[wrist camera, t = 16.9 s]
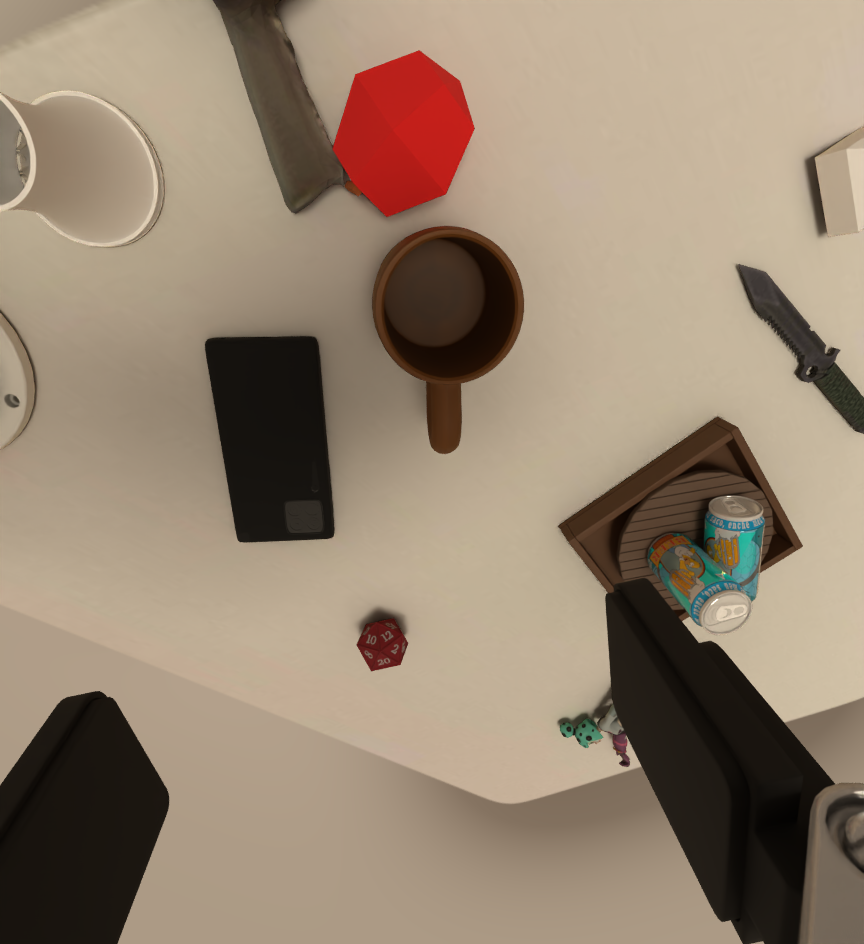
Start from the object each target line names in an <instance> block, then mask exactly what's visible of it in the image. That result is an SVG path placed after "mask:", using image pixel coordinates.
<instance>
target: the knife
mask: <svg viewBox="0 0 864 944" xmlns="http://www.w3.org/2000/svg"><path fill="white" fill-rule="evenodd" d="M738 265H739V268H740V271H741V274H742V277H743V280H744V283H745V286H746V289H747V292H748V295H749V298H750V300H751V301H752V303H753V305H754V307H755V309H756V311H757V312H758V313H759V314H760V315H761V317H762V318H763V319H764V320H765V321H767V319H768V320H769V325H770V323H771V322H772V328H773V326H774V325H775V332H776V330H777V329H778V335H779V333H780V332H781V339H782V337H783V336H784V342H785V340H787V346H788V344H790V349H791V347H792V348H793V352H794V350H795V352H796V355H797V353H798V357H799V359H800V364H801V365H800V367H799V369H798V371H797V373H796V374H797V376H798V377H799V378H800V380H801V381H804V382H808V383H809V382H812V381H814V382H815V384H816V385H817V386H818V387H819V388H820V389H821V391H822V392H823V393H824V394H825V395H826V396H827V398H828V399H829V400H830V401H831V402H832V403H833V405H834V406H835V407H836V408H837V409H838V410H839V411H840V412H841V414H842V415H843V416H844V417H845V418H846V420H847V421H849V423H850V424H851V425H852V426H853V428H854V429H855V431H857V432H860V433H863V434H864V397H863V396H862V395H861V394H860V392H859V391H858V390H857V389H856V387H855V386H854V385H853V384H852V383H851V381H850V380H849V379H848V378H847V377H846V375H845V374H844V373H843V372H842V371H841V369H840V368H839V367H838V366H837V364H836V363H835V362H834V361H835V359H836V356H837V354H838V353H839V352H840V350H839V349H836V348H832V349H831V351H830V353H829V354H828V355H826V354H825V347H826V345H825V343H824V342H823V341H822V340H821V339H820V337H819V336H818V335H817V334H816V333H815V331H811V330H810V329H809V328H810V327H811V326H810V325H809V324H808V323H807V322H806V320H805V319H804V318H803V317H802V316H801V314H800V313H799V312H798V311H797V309H796V308H795V307H794V306H793V305H792V303H791V302H790V301H789V300H788V299H787V297H786V296H785V295H784V294H783V292H782V291H781V290H780V289H779V288H778V286H777V285H776V284H775V283H774V282H773V280H772V279H771V278H770V277H769V275H768V274H767V273H766V272H764V271H761V270H757V269H754V268H750V267H747V266H743V265H740V264H738ZM800 357H801V358H800ZM813 365H814V370H812V371H811V372H812V373H813V374H812V375H810V376H809V377H807V375H806V372H807V370H808V368H809V367H811V366H813Z"/></svg>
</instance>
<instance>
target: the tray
mask: <svg viewBox="0 0 864 944" xmlns="http://www.w3.org/2000/svg"><path fill="white" fill-rule="evenodd" d="M700 470H724V471H727V472H730V473H733V474H737V475H740V476H743V477H745V478H746V479H748V480H749V481H750V482H751V483H753V484H754V485H755V486H756V487H757V488H759V489H760V490H761V491H762V492H763V493H764V495H765V498H766V499H767V501H768V503H769V505H770V507H771V509H772V517H773V534H772V538H771V542H770V544H769V548H768V552H767V553H766V555H765V557H764V559H763V560H762V562H761V567H760V573H761V572H762V571H764V570H766V569H767V568H769V567H771V566H772V565H774V564H775V563H777V562H779V561H780V560H782V559H784V558H785V557H787V556H788V555H790V554H792V553H793V552H795V551H796V550H798V549H800V548H801V547H803V545H802V543H801V542H800V540H799V538H798V536H797V534H796V533H795V531H794V529H793V527H792V525H791V523H790V522H789V520H788V518H787V516H786V514H785V512H784V511H783V509H782V507H781V505H780V503H779V501H778V500H777V498H776V496H775V494H774V492H773V490H772V489H771V487H770V485H769V483H768V481H767V480H766V478H765V476H764V474H763V472H762V470H761V469H760V467H759V465H758V463H757V461H756V459H755V458H754V456H753V454H752V452H751V450H750V448H749V447H748V445H747V443H746V441H745V439H744V437H743V436H742V434H741V432H740V430H739V428H738V427H736V426H734V425H733V424H731V423H729V422H727V421H725V420H723V419H721V418H719V417H717V418H715V419H714V420H712V421H711V422H709V423H708V424H706V425H705V426H703V427H702V428H700V429H699V430H698V431H696V432H695V433H693V434H692V435H690V436H689V437H687V438H686V439H684V440H683V441H681V442H680V443H679V444H677V445H676V446H674V447H673V448H671V449H670V450H668V451H667V452H665V453H664V454H663V455H661V456H660V457H658V458H657V459H655V460H654V461H652V462H651V463H649V464H648V465H646V466H645V467H644V468H642V469H641V470H639V471H638V472H636V473H635V474H633V475H632V476H630V477H629V478H627V479H626V480H625V481H623V482H622V483H620V484H619V485H617V486H616V487H614V488H613V489H611V490H610V491H609V492H607V493H606V494H604V495H603V496H601V497H600V498H598V499H597V500H595V501H594V502H592V503H591V504H590V505H588V506H587V507H585V508H584V509H582V510H581V511H579V512H578V513H576V514H575V515H573V516H572V517H571V518H569V519H568V520H566V521H565V522H563V523H562V524H560V525H559V528H560V529H561V531H562V532H563V534H564V536H565V537H566V539H567V541H568V542H569V543H570V545H571V546H572V547H573V548H574V550H575V551H576V552H577V554H578V555H579V556H580V557H581V559H582V560H583V561H584V562H585V564H586V565H587V566H588V568H589V569H590V570H591V571H592V573H593V574H594V575H595V577H596V578H597V579H598V580H599V582H600V583H601V584H602V585H603V587H604V588H605V589H606V591H607V592H608V593H612V592H614V585H615V584H616V583H621V582H624V580H623V579H622V577H621V576H620V572H619V567H618V562H617V558H616V554H617V547H618V541H619V535H620V532H621V531H622V529H623V527H624V525H625V523H626V521H627V519H628V517H629V515H630V513H631V512H632V511H633V510H634V508H635V507H636V506H637V505H638V504H639V503H640V502H641V501H642V500H643V499H644V498H645V497H646V495H647V494H648V493H650V492H651V491H653V490H655V489H656V488H658V487H659V486H661V485H662V484H664V483H665V482H667V481H669V480H670V479H672V478H675V477H678V476H681V475H685V474H688V473H691V472H694V471H700ZM673 611H674V612H675V613H676V615H677V616H678V617H679V618H680V620H681V621H683V620H684V619H686V618H688V617H689V615H688V614H687V612H686V611H685V610H684V609H678V610H673Z"/></svg>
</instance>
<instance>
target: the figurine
mask: <svg viewBox="0 0 864 944" xmlns="http://www.w3.org/2000/svg"><path fill="white" fill-rule="evenodd" d="M560 731H561V733H562V735H563V736H564V737H567V738H568V737H571V736H572V735H575V737H576V739H577V741H578V742H579V744H580V745H582V746H583V747H585V748H588V747H589V746H588V744H589V745H590V744H592V743H596V744H597V742H600V741H601V739H602V738H603V736H602V735H601V734H600V732H601V731H605V732H608V733H611V734H613V745H614V747H615V748H614V747H613V749H614V750H616V754H617V755H619V754H620V756H621V757H622V758H623V760H622V761H621V762H619V764H620V765H622V766H625V767H628V766H629V765H630V761H629V760H630V758H629V757H628V756H627V755H626V754H625V753H626V746H627V739H626V733H625V731H624V729H623V727H622V725H621V723H620V721H619V719H618V717H617V714H616V712H615V708H614V705H613V704H612V706H611V708H610V709H609V711H608V713H607V714H606V716H603V717H601V718H600V719H599V721H598V722H597V725H596V724H595V723H594V722H593V721H592V720H590V719H585V720H584V721H583V722H582V723H580V724H579V725H578V726H576V728H573V726H572V725H571V723H569V722H568V723H563V724H561V725H560Z"/></svg>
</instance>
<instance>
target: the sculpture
mask: <svg viewBox="0 0 864 944" xmlns="http://www.w3.org/2000/svg"><path fill="white" fill-rule="evenodd" d="M213 1H214V3H215V4H216V6H217V7H218V9H219V10H220V12H221V15H222V18H223V21H224V24H225V27H226V29H227V32H228V35H229V38H230V41H231V44H232V45H233V47H234V51H235V54H236V58H237V61H238V65H239V68H240V72H241V75H242V78H243V81H244V84H245V87H246V90H247V94H248V97H249V100H250V103H251V105H252V108H253V111H254V114H255V116H256V118H257V121H258V124H259V127H260V130H261V134H262V137H263V140H264V143H265V146H266V149H267V152H268V156H269V159H270V162H271V165H272V168H273V170H274V173H275V175H276V178H277V180H278V183H279V186H280V189H281V192H282V195H283V198H284V201H285V203H286V205H287V207H288V208H289V210H290V211H291V212H292V213H297V212H299V211H301V210H302V209H303V208H305V207H306V206H308V205H309V204H310V203H311V202H312V201H313V200H314V199H315V198H316V197H317V196H318V195H319V194H320V193H321V192H322V191H323V190H324V189H326V188H328V187H329V186H330V185H331V184H341V185H342V186H343V187H344V167H343V166H342V164H341V162H340V161H339V159H338V157H337V156H336V154H335V153H334V151H333V146H332V144H331V143H330V141H329V139H328V137H327V134H326V131H325V129H324V127H323V124H322V122H321V120H320V117H319V115H318V113H317V111H316V108H315V106H314V103H313V101H312V99H311V98H310V96H309V94H308V91H307V88H306V86H305V84H304V82H303V81H302V78H301V74H300V71H299V68H298V66H297V63H296V60H295V53H294V48H293V46H292V43H291V41H290V40H289V38H288V37H287V36H286V33H285V32H284V30H283V27H282V24H281V21H280V19H279V17H278V15H277V13H276V10H275V5H276V4H277V3H278V2H280V1H281V0H213Z"/></svg>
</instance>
